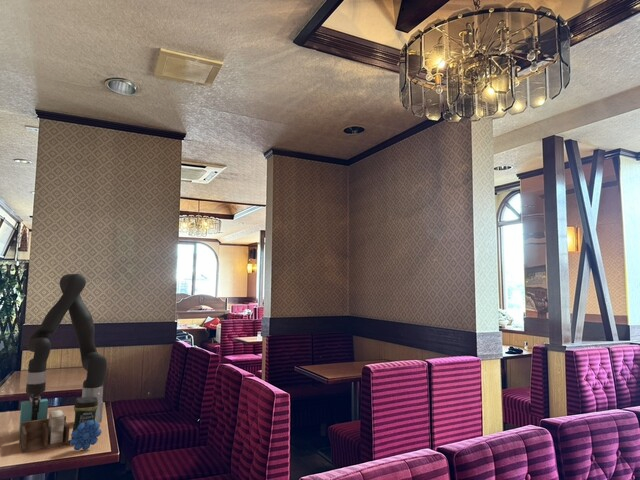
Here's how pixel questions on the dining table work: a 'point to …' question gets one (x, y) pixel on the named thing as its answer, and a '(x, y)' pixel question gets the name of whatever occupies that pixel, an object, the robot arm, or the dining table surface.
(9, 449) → the dining table surface
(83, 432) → the grapes
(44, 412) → the teal book
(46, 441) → the book rack
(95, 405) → the coffee jar
